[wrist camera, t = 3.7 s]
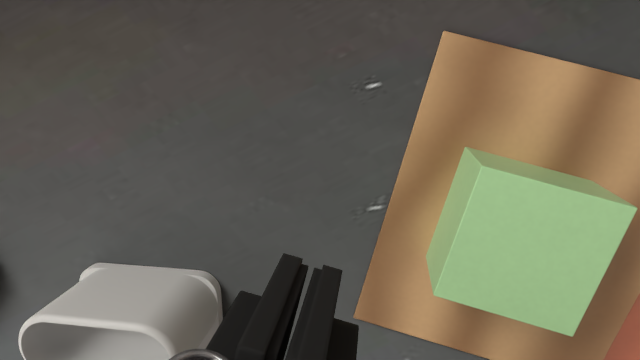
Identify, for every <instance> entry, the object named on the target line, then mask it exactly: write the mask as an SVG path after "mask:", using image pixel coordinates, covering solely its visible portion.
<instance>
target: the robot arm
mask: <svg viewBox="0 0 640 360" xmlns="http://www.w3.org/2000/svg"><path fill="white" fill-rule="evenodd" d="M307 270H308V266H307V265H304V264H302V258H298V257H295V256H291V255H288V254H285V253H283V255H282V257H281V259H280V261H279V263H278V265H277V267H276V269H275V271H274V273H273V275H272V277H271V279H270V281H269V283H268V285H267V287H266V289H265V291H264V293H263V295H262V297H261V296H258V295H255V294H251V293H248V292H245V291H240V293H239V294H238V296H237V297H236V299H235V301H234V302H233V304H232V306H231V307H230V309H229V310H228V312H227V314H226V315H225V317H224V319H223V320H222V322H221V324H220V325H219V327H218V329H217V330H216V332H215V334H214V335H213V337H212V339H211V340H210V342H209V344H208V345H207V347H206V349H191V350H185V351H183V352H180V353H178V354H175V355H174V356H173V357H171V358H170V359H169V360H283V359H284V356H285V352H286V349H287V345H288V342H289V338H290V334H291V330H292V326H293V323H294V319H295V315H296V311H297V308H298V304H299V300H300V296H301V293H302V289H303V285H304V281H305V278H306V274H307ZM341 275H342V270H340V269H336V268H333V267H329V266H326V265H323V268H322V270H321V269H317V268H314V271H313V274H312V277H311V280H310V283H309V286H308V290H307V293H306V296H305V299H304V302H303V305H302V308H301V312H300V315H299V318H298V321H297V324H296V327H295V330H294V334H293V337H292V340H291V343H290V346H289V349H288V352H287V356H286V359H285V360H356V354H357V342H358V330H359V326H358V325H355V324H352V323H349V322H345V321H342V320H339V319H335V318H334V313H335V308H336V302H337V297H338V292H339V286H340V281H341Z"/></svg>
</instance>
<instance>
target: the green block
mask: <svg viewBox="0 0 640 360" xmlns="http://www.w3.org/2000/svg"><path fill="white" fill-rule="evenodd" d="M637 209H638V208H637V207H635V206H634V205H632V204H630V203H629V202H627V201H625V200H623V199H622V198H620V197H618V196H617V195H615V194H613V193H612V192H610V191H608V190H607V189H605V188H603V187H602V186H600V185H598V184H596V183H595V182H593V181H591V180H587V179H584V178H580V177H576V176H572V175H569V174H565V173H561V172H558V171H554V170H550V169H547V168H543V167H539V166H535V165H532V164H528V163H524V162H521V161H517V160H513V159H509V158H506V157H502V156H498V155H495V154H491V153H487V152H483V151H480V150H476V149H472V148H469V147H465V148H464V151H463V154H462V156H461V159H460V162H459V165H458V168H457V170H456V173H455V176H454V179H453V182H452V184H451V187H450V190H449V193H448V196H447V198H446V201H445V204H444V207H443V210H442V212H441V215H440V218H439V221H438V224H437V226H436V229H435V232H434V235H433V238H432V240H431V243H430V246H429V249H428V251H427V254H426V260H427V265H428V270H429V275H430V281H431V286H432V291H433V295H434V296H437V297H440V298H443V299H447V300H450V301H453V302H457V303H460V304H464V305H467V306H470V307H474V308H477V309H480V310H484V311H487V312H490V313H494V314H497V315H501V316H504V317H507V318H511V319H514V320H517V321H521V322H524V323H527V324H531V325H534V326H537V327H541V328H544V329H548V330H551V331H554V332H558V333H561V334H564V335H568V336H571V337H573V335H574V333H575V332H576V330H577V328H578V326H579V324H580V322H581V320H582V318H583V316H584V314H585V312H586V310H587V308H588V306H589V304H590V302H591V300H592V298H593V296H594V294H595V292H596V290H597V288H598V286H599V284H600V282H601V280H602V278H603V276H604V274H605V272H606V270H607V268H608V266H609V264H610V262H611V260H612V259H613V257H614V255H615V253H616V251H617V249H618V247H619V245H620V243H621V241H622V239H623V237H624V235H625V233H626V231H627V229H628V227H629V225H630V223H631V221H632V219H633V217H634V215H635V213H636V211H637Z"/></svg>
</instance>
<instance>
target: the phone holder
mask: <svg viewBox="0 0 640 360" xmlns="http://www.w3.org/2000/svg"><path fill="white" fill-rule="evenodd" d="M222 320H223V313H222V298H221V288H220V285H219V283H218V281H217V280H216V278H215V277H214V276H212V275H211V274H210V273H208V272H205V271H201V270H189V269H176V268H163V267H150V266H137V265H124V264H111V263H96V264H93V265H92V266H90V267H89V268H88V269H86V270H85V271H84V272H83V273H82V274H81V276H80V280H79V283H77V284H76V285H75V286H73V287H72V288H70V289H69V290H68V291H66V292H65V293H63V294H62V295H61V296H59V297H58V298H57V299H55V300H54V301H52V302H51V303H50V304H48V305H47V306H46V307H44V308H43V309H41V310H40V311H39V312H37V313H36V314H34V315H33V316H32V317H30V318H29V319H28V320H27V321H26V322H25V323H24V324H23V326H22V328H21V330H20V333H19V348H20V351H21V354H22V356H23V358H24V360H169V359H170V358H171V357H173V356H174V355H175V354H178V353H180V352H183V351H185V350H191V349H206V347H207V345H208V344H209V342H210V340H211V339H212V337H213V335H214V334H215V332H216V330H217V329H218V327H219V325H220V324H221V322H222Z"/></svg>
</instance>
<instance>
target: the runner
mask: <svg viewBox="0 0 640 360" xmlns="http://www.w3.org/2000/svg"><path fill="white" fill-rule="evenodd" d="M465 147H469V148H472V149H476V150H480V151H483V152H487V153H491V154H495V155H498V156H502V157H506V158H509V159H513V160H517V161H521V162H524V163H528V164H532V165H535V166H539V167H543V168H547V169H550V170H554V171H558V172H561V173H565V174H569V175H572V176H576V177H580V178H584V179H587V180H591V181H593V182H595V183H596V184H598V185H600V186H602V187H603V188H605V189H607V190H608V191H610V192H612V193H613V194H615V195H617V196H618V197H620V198H622V199H623V200H625V201H627V202H629V203H630V204H632V205H634V206H635V207H637V208H638V209H637V211H636V213H635V215H634V217H633V219H632V221H631V223H630V225H629V227H628V229H627V231H626V233H625V235H624V237H623V239H622V241H621V243H620V245H619V247H618V249H617V251H616V253H615V255H614V257H613V259H612V260H611V262H610V264H609V266H608V268H607V270H606V272H605V274H604V276H603V278H602V280H601V282H600V284H599V286H598V288H597V290H596V292H595V294H594V296H593V298H592V300H591V302H590V304H589V306H588V308H587V310H586V312H585V314H584V316H583V318H582V320H581V322H580V324H579V326H578V328H577V330H576V332H575V333H574V335H573V337H571V336H568V335H564V334H561V333H558V332H554V331H551V330H548V329H544V328H541V327H537V326H534V325H531V324H527V323H524V322H521V321H517V320H514V319H511V318H507V317H504V316H501V315H497V314H494V313H490V312H487V311H484V310H480V309H477V308H474V307H470V306H467V305H464V304H460V303H457V302H453V301H450V300H447V299H443V298H440V297H437V296H434V295H433V291H432V286H431V281H430V275H429V270H428V265H427V260H426V254H427V251H428V249H429V246H430V243H431V240H432V238H433V235H434V232H435V229H436V226H437V224H438V221H439V218H440V215H441V212H442V210H443V207H444V204H445V201H446V198H447V196H448V193H449V190H450V187H451V184H452V182H453V179H454V176H455V173H456V170H457V168H458V165H459V162H460V159H461V156H462V154H463V151H464V148H465ZM353 318H356V319H359V320H363V321H366V322H369V323H373V324H376V325H379V326H382V327H386V328H389V329H392V330H395V331H399V332H402V333H405V334H408V335H412V336H415V337H418V338H422V339H425V340H428V341H431V342H435V343H438V344H441V345H444V346H448V347H451V348H454V349H458V350H461V351H464V352H467V353H471V354H474V355H477V356H480V357H484V358H487V359H490V360H640V80H639V79H635V78H631V77H627V76H623V75H619V74H615V73H611V72H607V71H603V70H599V69H595V68H591V67H587V66H583V65H579V64H575V63H571V62H567V61H563V60H559V59H555V58H551V57H547V56H543V55H539V54H535V53H531V52H527V51H523V50H519V49H515V48H511V47H507V46H503V45H499V44H495V43H491V42H487V41H483V40H479V39H475V38H471V37H467V36H463V35H459V34H455V33H451V32H447V31H443V34H442V37H441V40H440V43H439V46H438V50H437V53H436V56H435V59H434V62H433V66H432V69H431V72H430V75H429V78H428V81H427V85H426V88H425V91H424V94H423V97H422V100H421V104H420V107H419V110H418V113H417V116H416V119H415V123H414V126H413V129H412V132H411V135H410V139H409V142H408V145H407V148H406V151H405V154H404V158H403V161H402V164H401V167H400V170H399V173H398V177H397V180H396V183H395V186H394V189H393V192H392V196H391V199H390V202H389V205H388V208H387V212H386V215H385V218H384V221H383V224H382V227H381V231H380V234H379V237H378V240H377V243H376V246H375V250H374V253H373V256H372V259H371V262H370V265H369V269H368V272H367V275H366V278H365V281H364V285H363V288H362V291H361V294H360V297H359V300H358V304H357V307H356V310H355V313H354V317H353Z"/></svg>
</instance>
